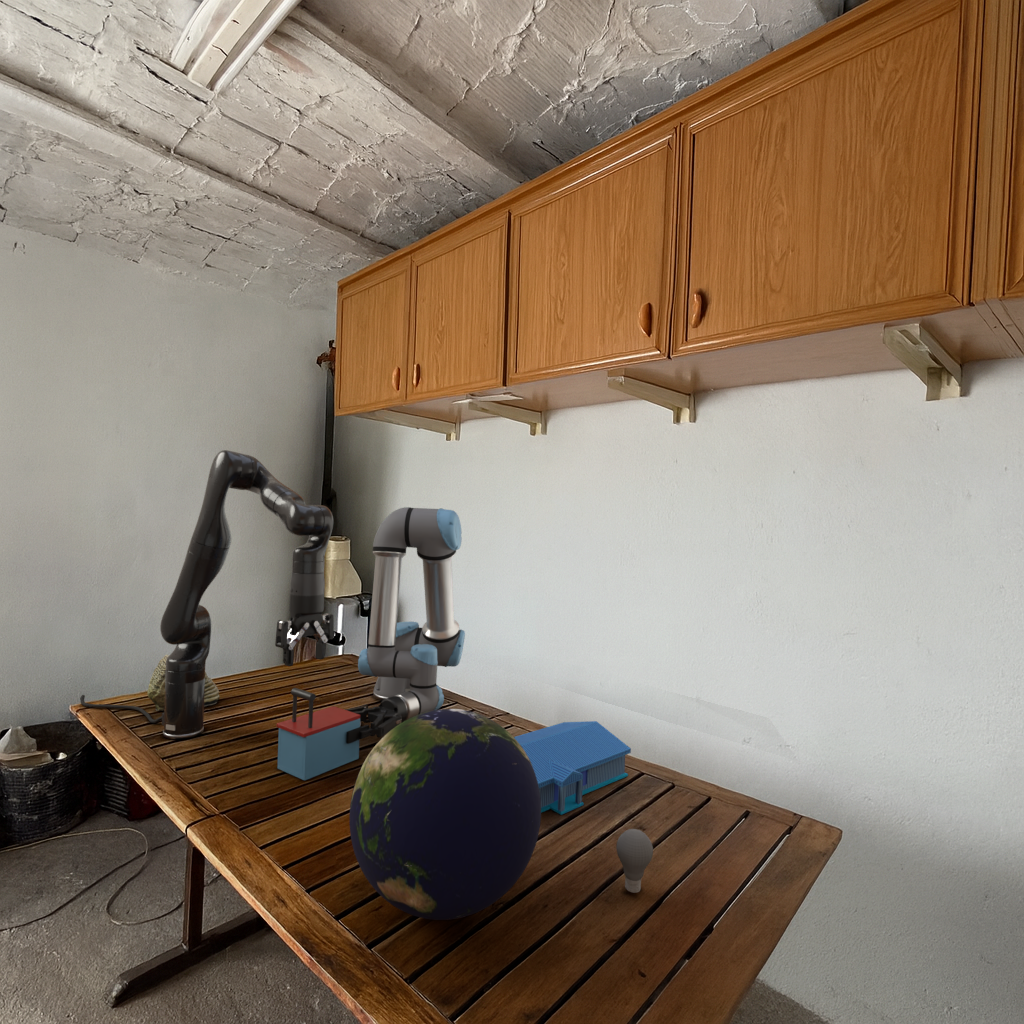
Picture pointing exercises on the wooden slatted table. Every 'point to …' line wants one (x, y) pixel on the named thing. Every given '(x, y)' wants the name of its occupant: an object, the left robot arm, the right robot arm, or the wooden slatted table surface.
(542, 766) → the model building
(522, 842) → the globe
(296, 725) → the lid
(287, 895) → the wooden slatted table surface
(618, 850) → the light bulb
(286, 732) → the chest
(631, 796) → the wooden slatted table surface
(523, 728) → the wooden slatted table surface
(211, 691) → the fossil
